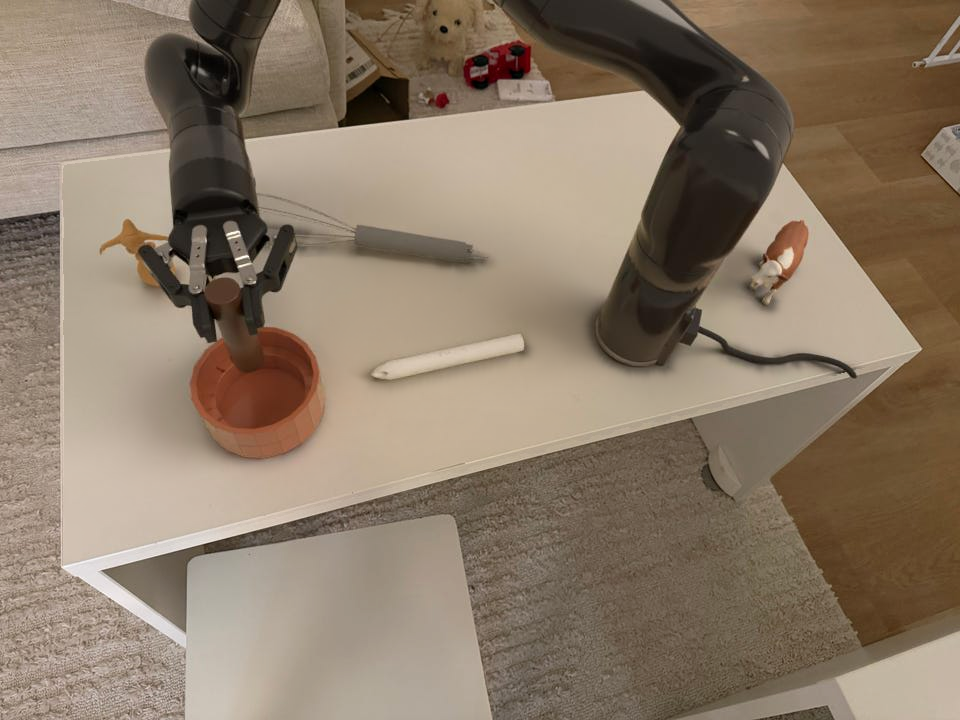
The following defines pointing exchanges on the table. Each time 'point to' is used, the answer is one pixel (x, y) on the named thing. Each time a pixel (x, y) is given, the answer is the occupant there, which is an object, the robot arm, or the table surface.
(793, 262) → the bull figurine
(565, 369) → the table surface
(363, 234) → the kitchen whisk
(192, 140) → the robot arm
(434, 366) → the marker
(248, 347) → the stirring stick
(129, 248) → the figurine
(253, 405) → the bowl
